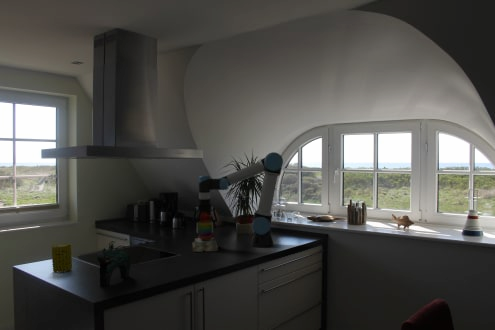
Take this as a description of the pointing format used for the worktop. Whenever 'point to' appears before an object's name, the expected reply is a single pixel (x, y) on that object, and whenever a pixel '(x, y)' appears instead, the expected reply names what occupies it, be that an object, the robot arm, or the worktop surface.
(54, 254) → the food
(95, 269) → the worktop surface
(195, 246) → the plinth
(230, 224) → the worktop surface
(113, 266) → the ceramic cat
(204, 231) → the stacking bear
